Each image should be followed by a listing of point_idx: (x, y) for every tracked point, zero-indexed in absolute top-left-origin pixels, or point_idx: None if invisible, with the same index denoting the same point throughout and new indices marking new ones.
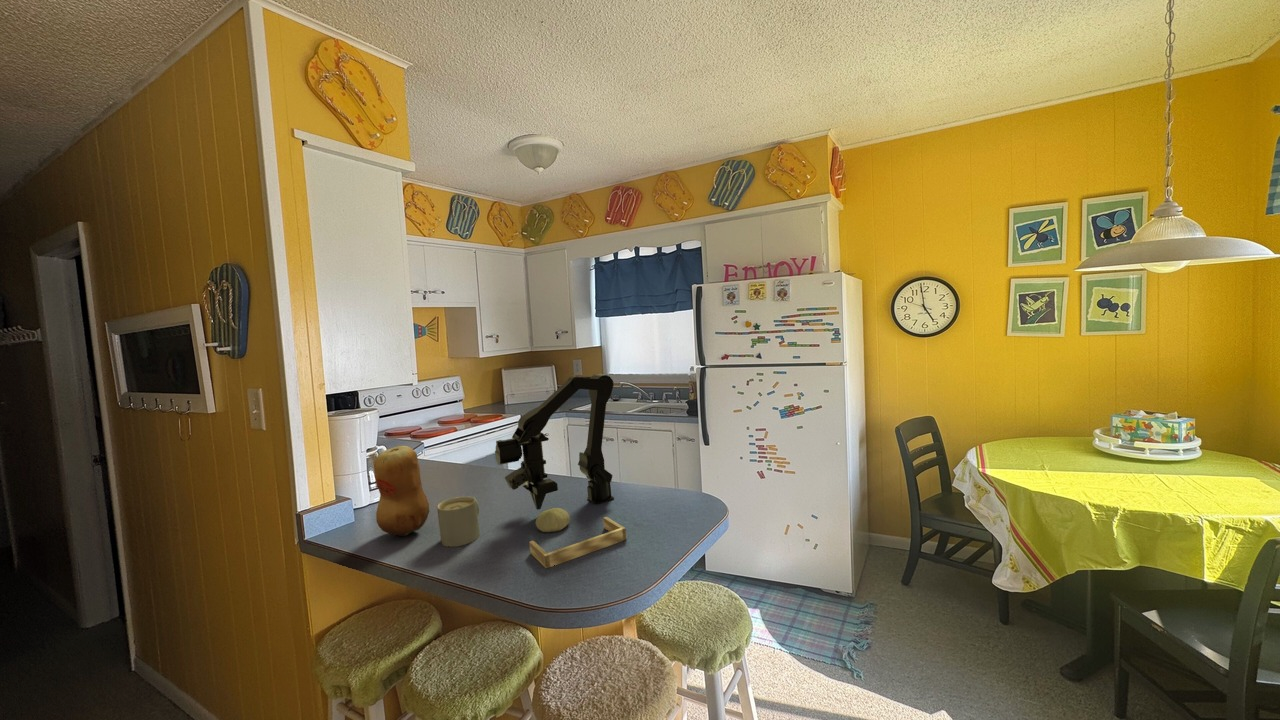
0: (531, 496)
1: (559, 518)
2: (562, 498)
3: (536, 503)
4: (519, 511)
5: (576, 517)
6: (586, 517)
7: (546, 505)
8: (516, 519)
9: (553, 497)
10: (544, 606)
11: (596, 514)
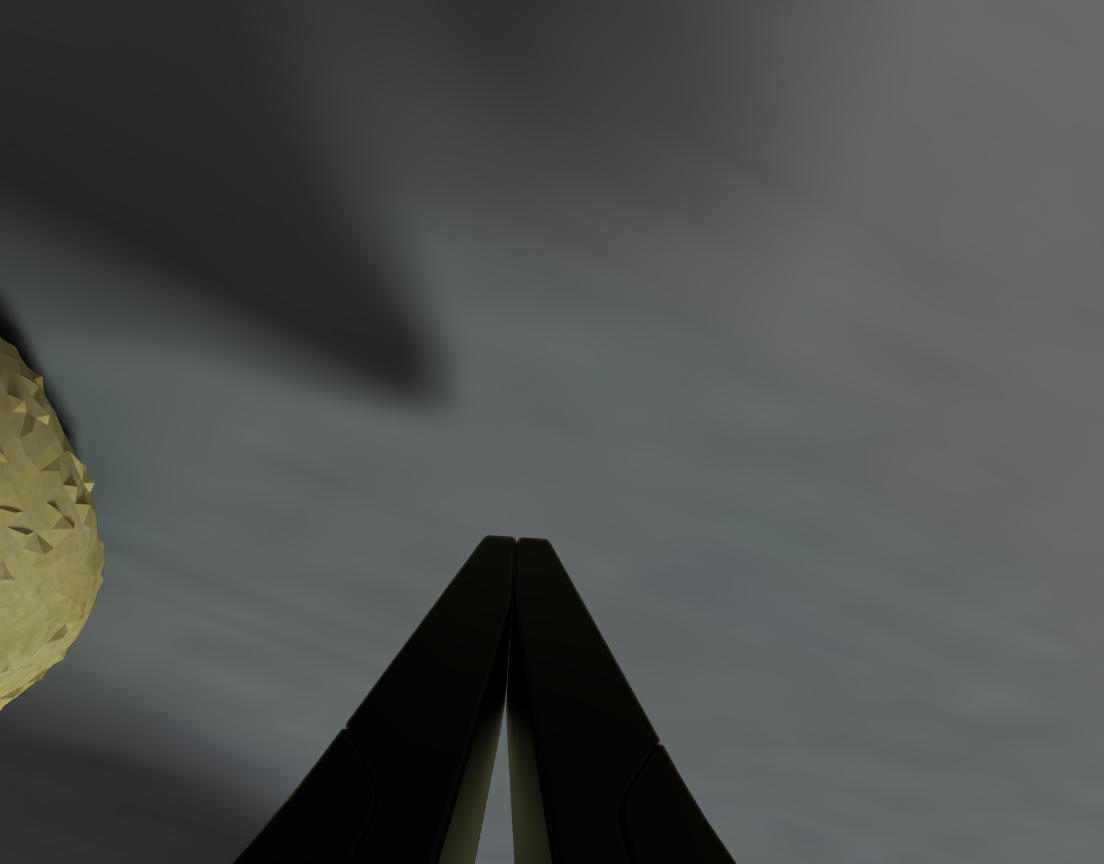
0: (689, 797)
1: None
2: (817, 851)
3: (405, 651)
4: (1088, 313)
5: (73, 735)
6: (8, 787)
7: (814, 688)
8: (749, 35)
9: (962, 819)
10: None
11: (47, 857)
